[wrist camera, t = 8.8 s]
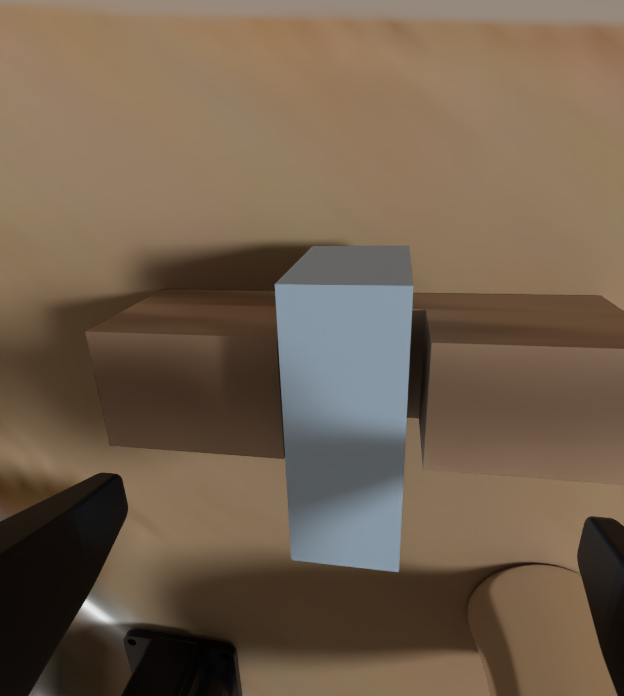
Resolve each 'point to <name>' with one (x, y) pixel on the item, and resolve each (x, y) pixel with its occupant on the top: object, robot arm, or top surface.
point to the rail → (423, 386)
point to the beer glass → (537, 634)
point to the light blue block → (345, 401)
